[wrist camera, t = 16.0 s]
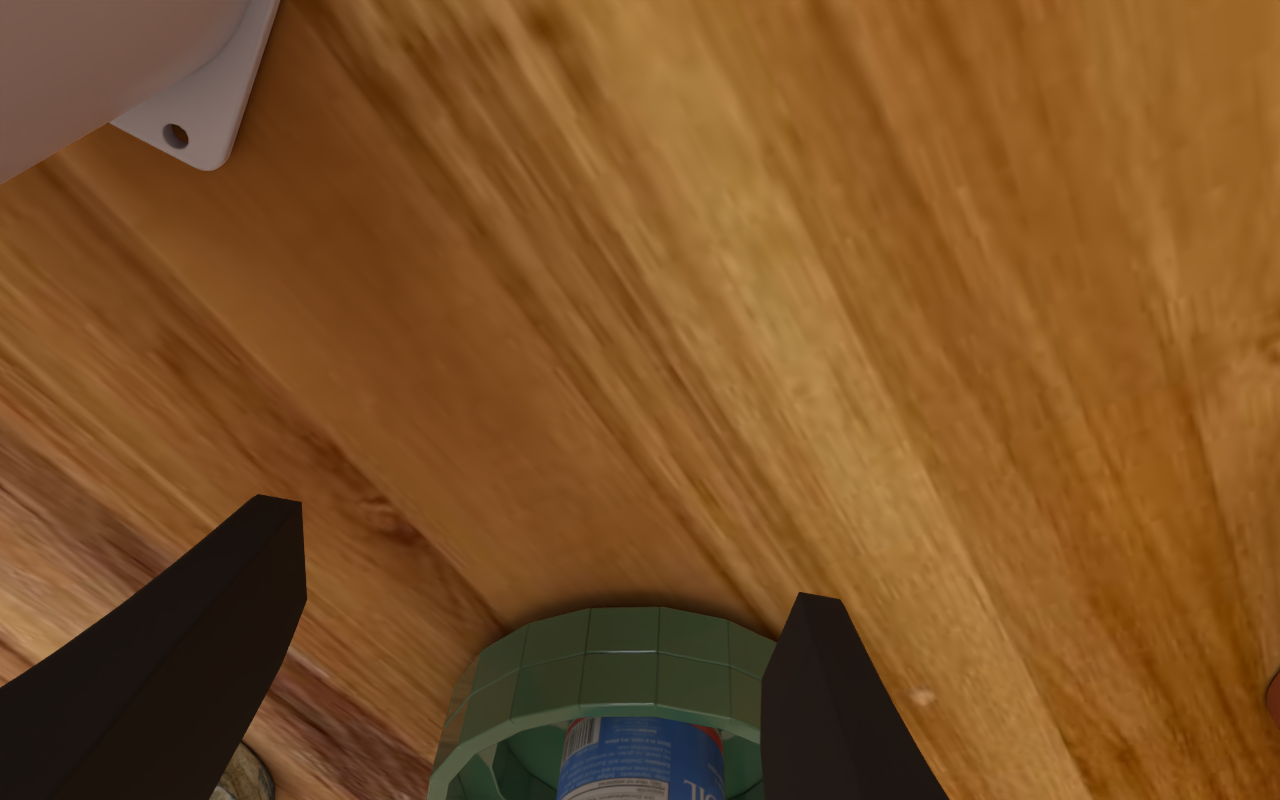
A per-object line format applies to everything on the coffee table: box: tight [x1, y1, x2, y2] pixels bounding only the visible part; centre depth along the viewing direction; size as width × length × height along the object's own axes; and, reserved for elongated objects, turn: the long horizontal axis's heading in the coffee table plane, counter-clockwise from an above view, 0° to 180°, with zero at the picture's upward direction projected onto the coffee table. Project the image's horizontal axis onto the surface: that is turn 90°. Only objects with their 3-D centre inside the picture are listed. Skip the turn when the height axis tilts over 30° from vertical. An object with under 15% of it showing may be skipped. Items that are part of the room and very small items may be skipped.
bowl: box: [426, 606, 777, 800], centre depth 28 cm, size 13×13×4 cm
